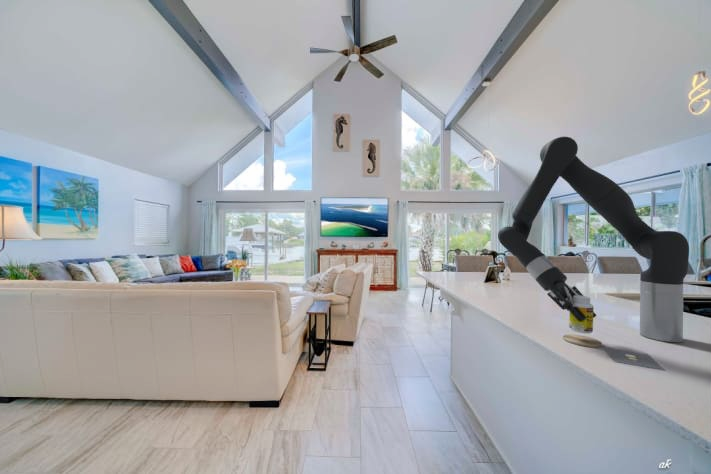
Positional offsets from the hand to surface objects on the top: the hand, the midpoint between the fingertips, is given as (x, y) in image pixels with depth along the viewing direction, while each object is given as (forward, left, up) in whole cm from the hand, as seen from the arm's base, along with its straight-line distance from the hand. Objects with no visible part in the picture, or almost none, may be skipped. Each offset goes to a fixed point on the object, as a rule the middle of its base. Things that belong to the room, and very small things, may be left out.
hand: (588, 318), depth 84 cm
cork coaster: (-1, -1, -7) cm, 7 cm away
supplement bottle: (-1, -2, -4) cm, 5 cm away
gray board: (+7, +8, -7) cm, 13 cm away
